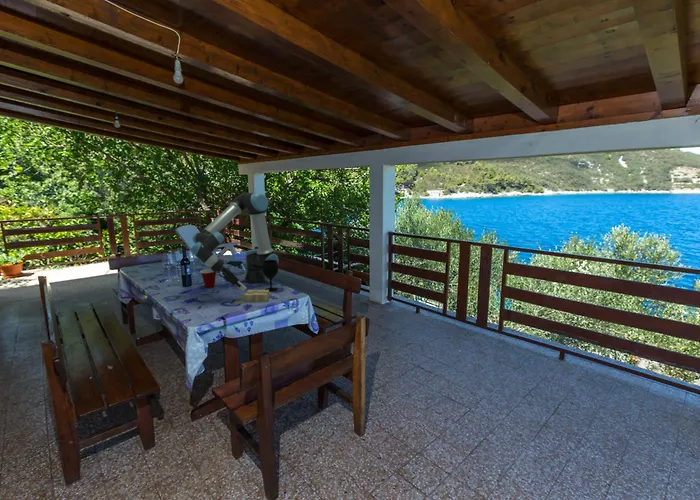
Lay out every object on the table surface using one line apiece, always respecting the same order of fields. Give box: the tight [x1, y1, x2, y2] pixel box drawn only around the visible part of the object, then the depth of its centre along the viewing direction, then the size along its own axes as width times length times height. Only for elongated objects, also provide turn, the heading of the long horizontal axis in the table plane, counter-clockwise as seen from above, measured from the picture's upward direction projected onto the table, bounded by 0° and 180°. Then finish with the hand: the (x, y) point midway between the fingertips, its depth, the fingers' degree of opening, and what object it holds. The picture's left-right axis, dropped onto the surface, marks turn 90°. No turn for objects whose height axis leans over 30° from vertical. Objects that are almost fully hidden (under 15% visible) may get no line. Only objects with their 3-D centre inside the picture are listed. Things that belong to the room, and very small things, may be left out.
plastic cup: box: [199, 267, 217, 289], centre depth 237 cm, size 11×11×12 cm
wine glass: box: [262, 260, 280, 293], centre depth 229 cm, size 10×10×20 cm
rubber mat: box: [233, 293, 272, 305], centre depth 212 cm, size 16×20×1 cm
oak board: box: [244, 289, 270, 302], centre depth 212 cm, size 10×4×13 cm
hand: (244, 289), depth 210 cm, fingers closed
